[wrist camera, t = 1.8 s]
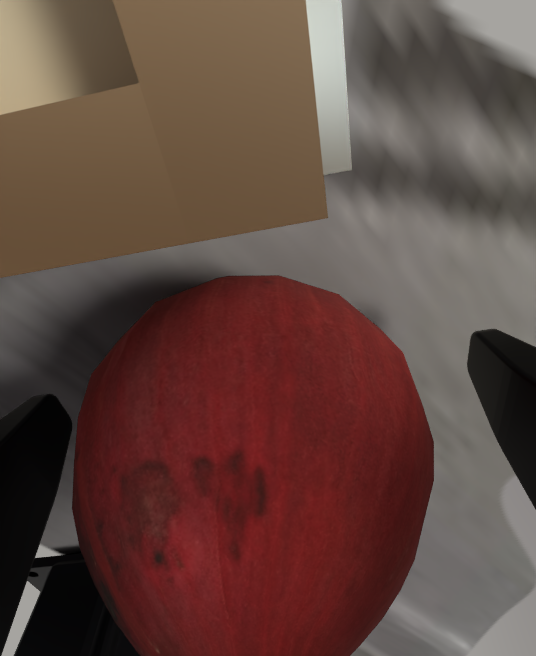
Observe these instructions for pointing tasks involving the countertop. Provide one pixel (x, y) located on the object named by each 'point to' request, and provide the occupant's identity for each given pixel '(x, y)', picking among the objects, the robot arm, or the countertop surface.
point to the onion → (251, 473)
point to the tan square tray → (164, 123)
